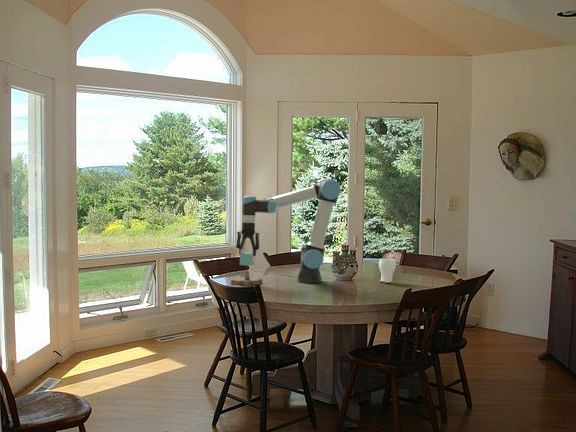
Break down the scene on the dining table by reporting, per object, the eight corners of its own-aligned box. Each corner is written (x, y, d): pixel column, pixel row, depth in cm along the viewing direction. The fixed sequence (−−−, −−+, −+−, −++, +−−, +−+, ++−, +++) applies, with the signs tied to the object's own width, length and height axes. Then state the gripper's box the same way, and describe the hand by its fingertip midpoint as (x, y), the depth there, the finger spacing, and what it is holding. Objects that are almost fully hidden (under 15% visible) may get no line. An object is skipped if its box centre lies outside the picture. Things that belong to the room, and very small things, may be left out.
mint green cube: (254, 264, 373) (254, 253, 372) (249, 265, 366) (250, 254, 366) (244, 263, 375) (244, 252, 375) (239, 264, 369) (240, 253, 368)
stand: (262, 283, 376) (262, 270, 375) (252, 286, 362) (253, 273, 362) (241, 280, 380) (241, 268, 380) (231, 284, 367) (231, 271, 367)
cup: (396, 282, 394) (398, 259, 393) (392, 285, 384) (393, 260, 383) (380, 281, 398) (381, 257, 398) (375, 283, 389) (376, 259, 388)
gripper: (266, 222, 369) (264, 261, 371) (236, 220, 376) (235, 258, 378) (261, 223, 362) (259, 262, 364) (231, 221, 369) (229, 260, 370)
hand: (247, 260), depth 371 cm, fingers closed on mint green cube, 7 cm apart
